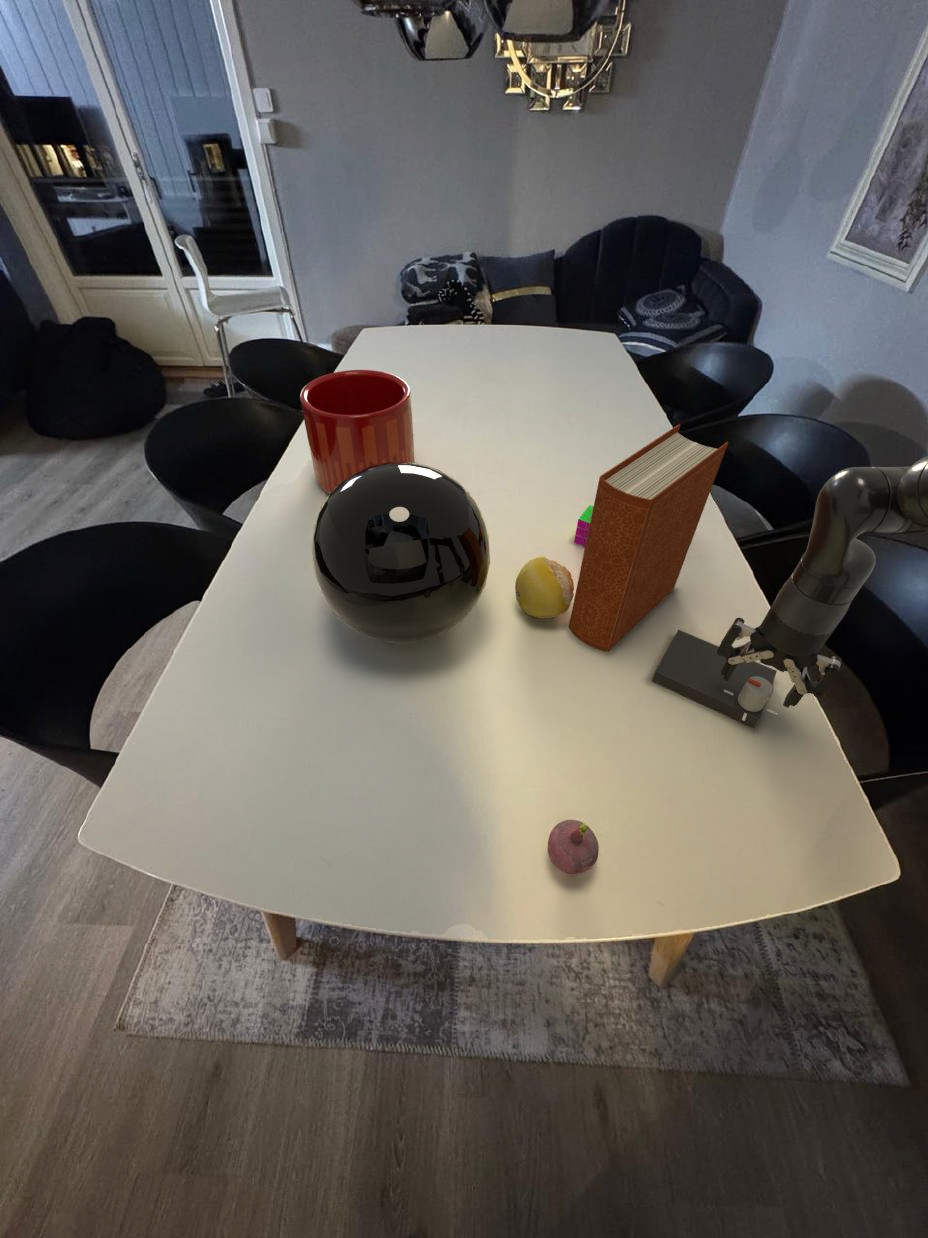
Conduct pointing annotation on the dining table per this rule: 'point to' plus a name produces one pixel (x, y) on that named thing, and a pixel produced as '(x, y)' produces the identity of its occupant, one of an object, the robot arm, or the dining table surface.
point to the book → (640, 535)
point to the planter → (356, 423)
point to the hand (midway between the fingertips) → (756, 689)
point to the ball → (400, 552)
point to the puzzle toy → (583, 526)
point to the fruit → (544, 588)
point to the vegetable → (573, 847)
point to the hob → (708, 677)
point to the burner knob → (755, 694)
